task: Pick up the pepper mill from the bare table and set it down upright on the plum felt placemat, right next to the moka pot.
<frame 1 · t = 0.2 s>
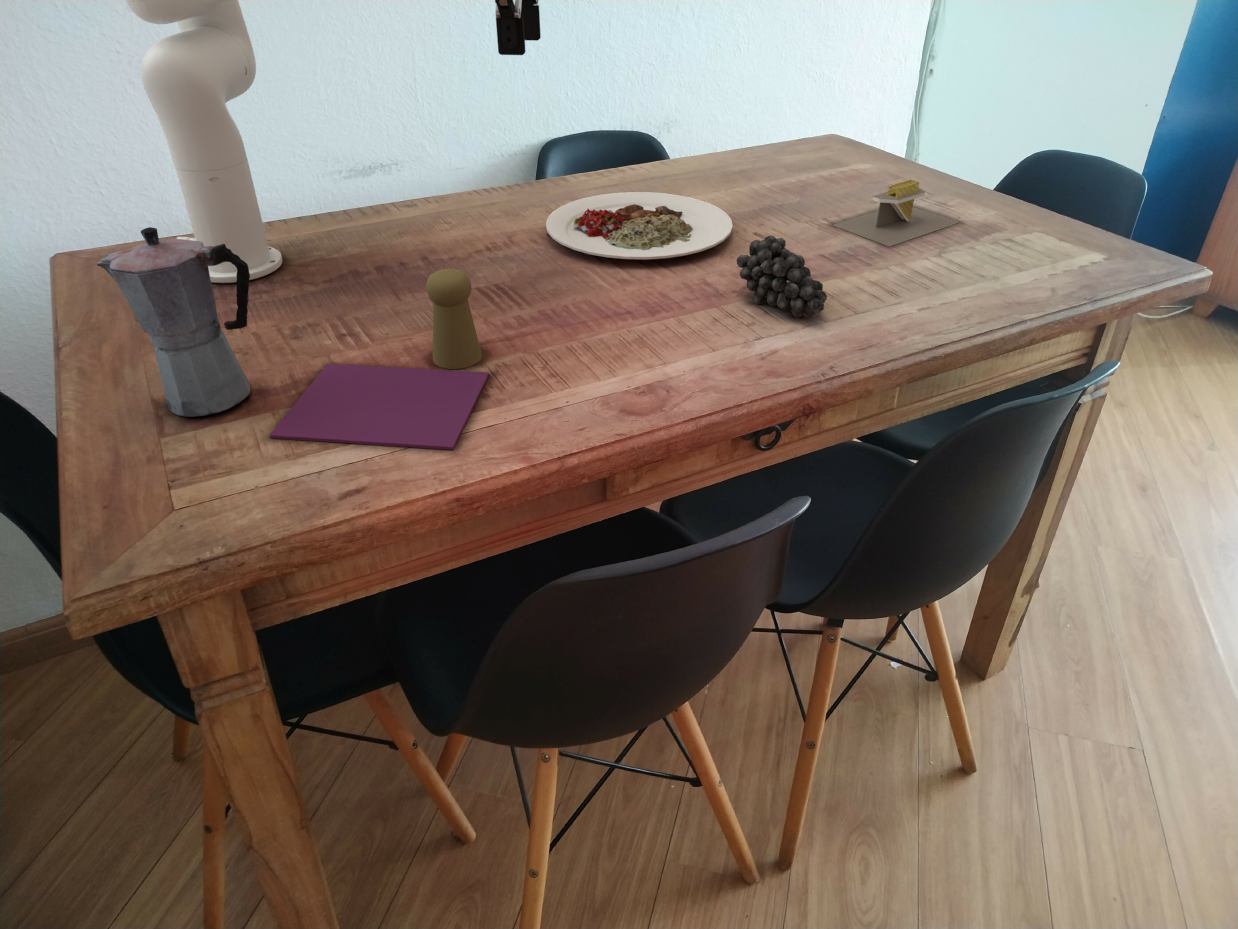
hand: (520, 46, 110), 31 cm above the table, tool pointing down, fingers open, 9 cm apart
pepper mill: (457, 358, 109), on the table
plated food: (638, 234, 144), on the table
platform: (895, 224, 148), on the table
fruit: (780, 308, 121), on the table
placemat: (385, 405, 100), on the table
moka pot: (214, 399, 101), on the table
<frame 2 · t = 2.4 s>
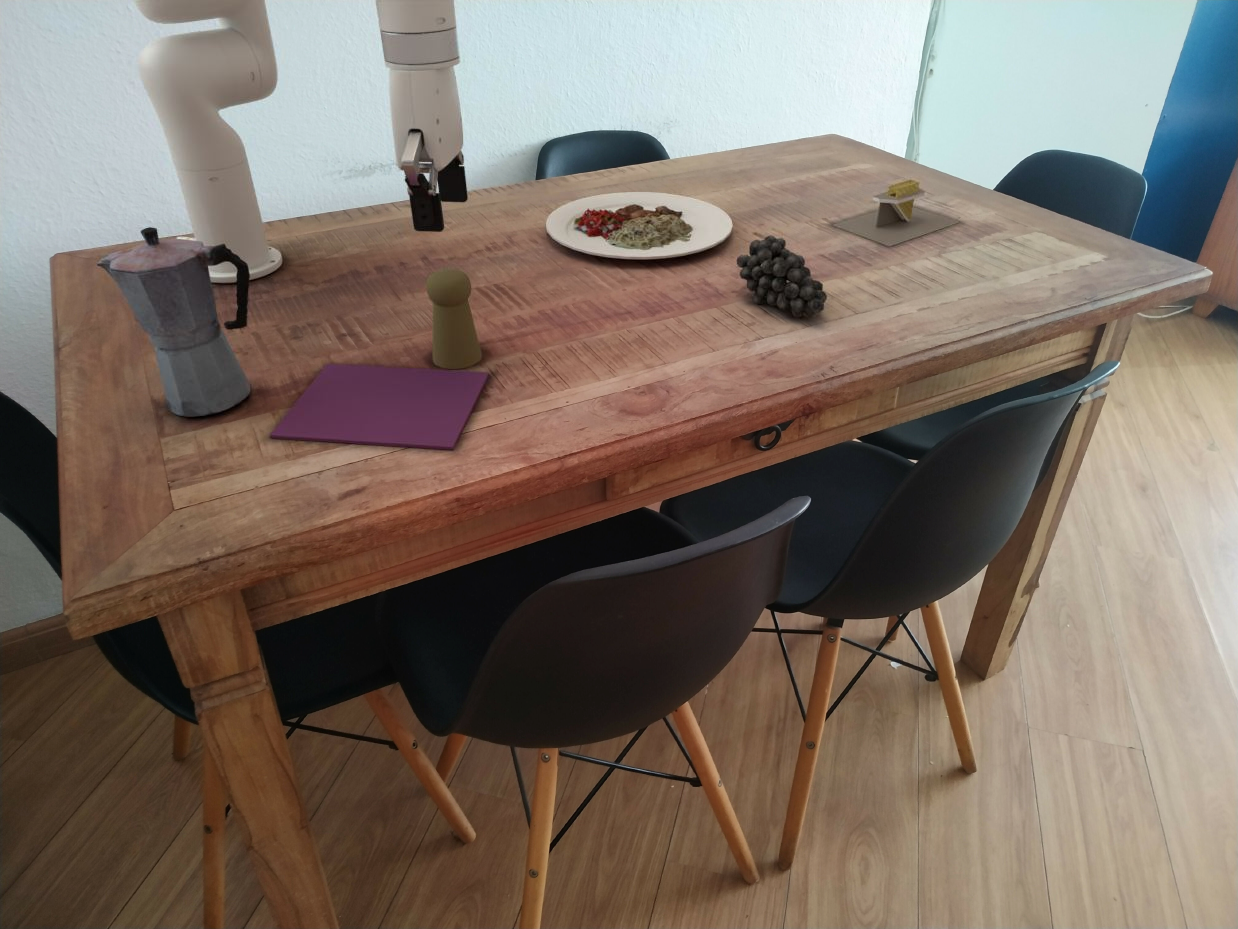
hand: (442, 215, 99), 18 cm above the table, tool pointing down, fingers open, 9 cm apart
nothing on the table moved.
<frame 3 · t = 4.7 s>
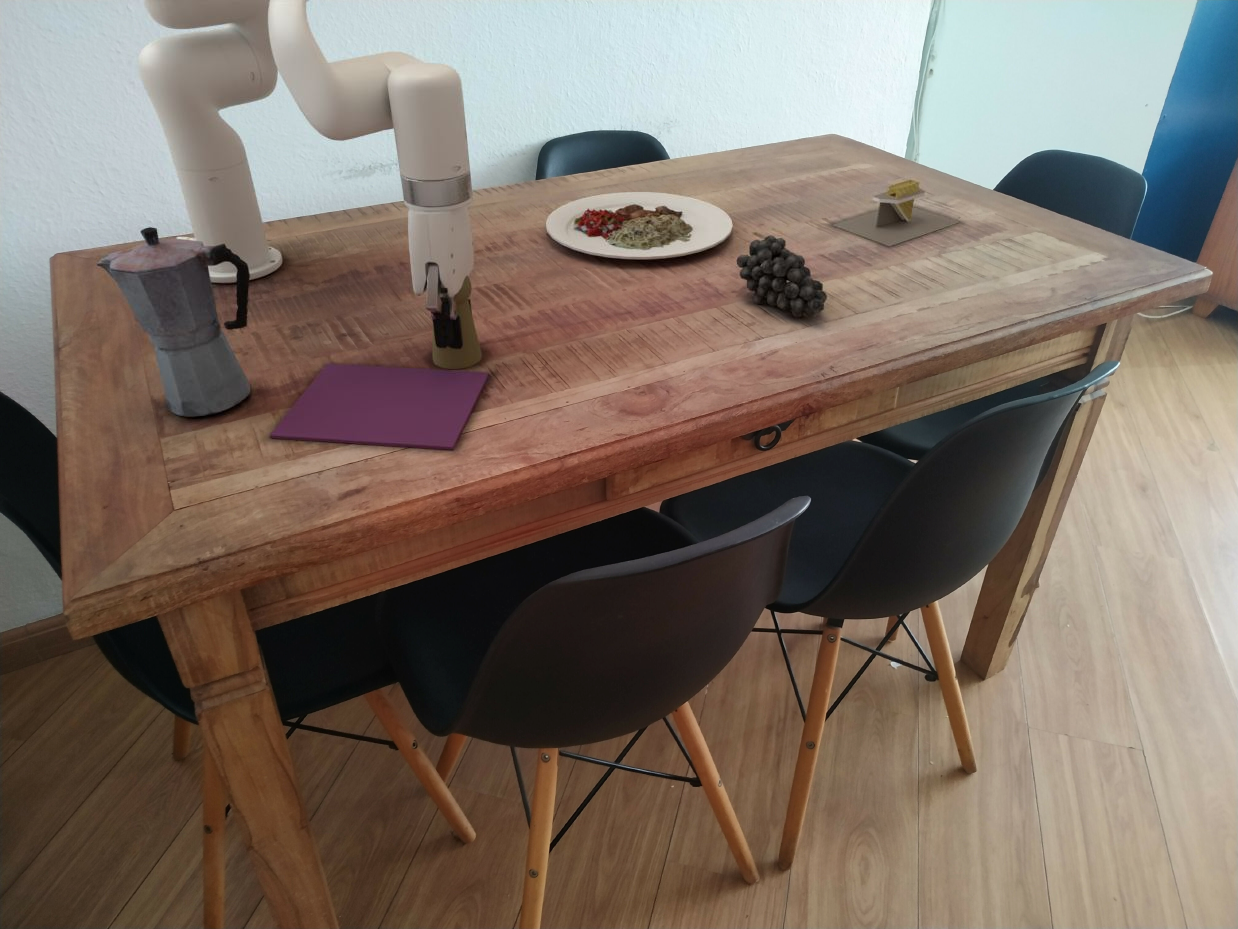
hand: (454, 336, 108), 3 cm above the table, tool pointing down, fingers closed on pepper mill, 4 cm apart
pepper mill: (457, 358, 109), on the table, touching gripper
everything else where it was.
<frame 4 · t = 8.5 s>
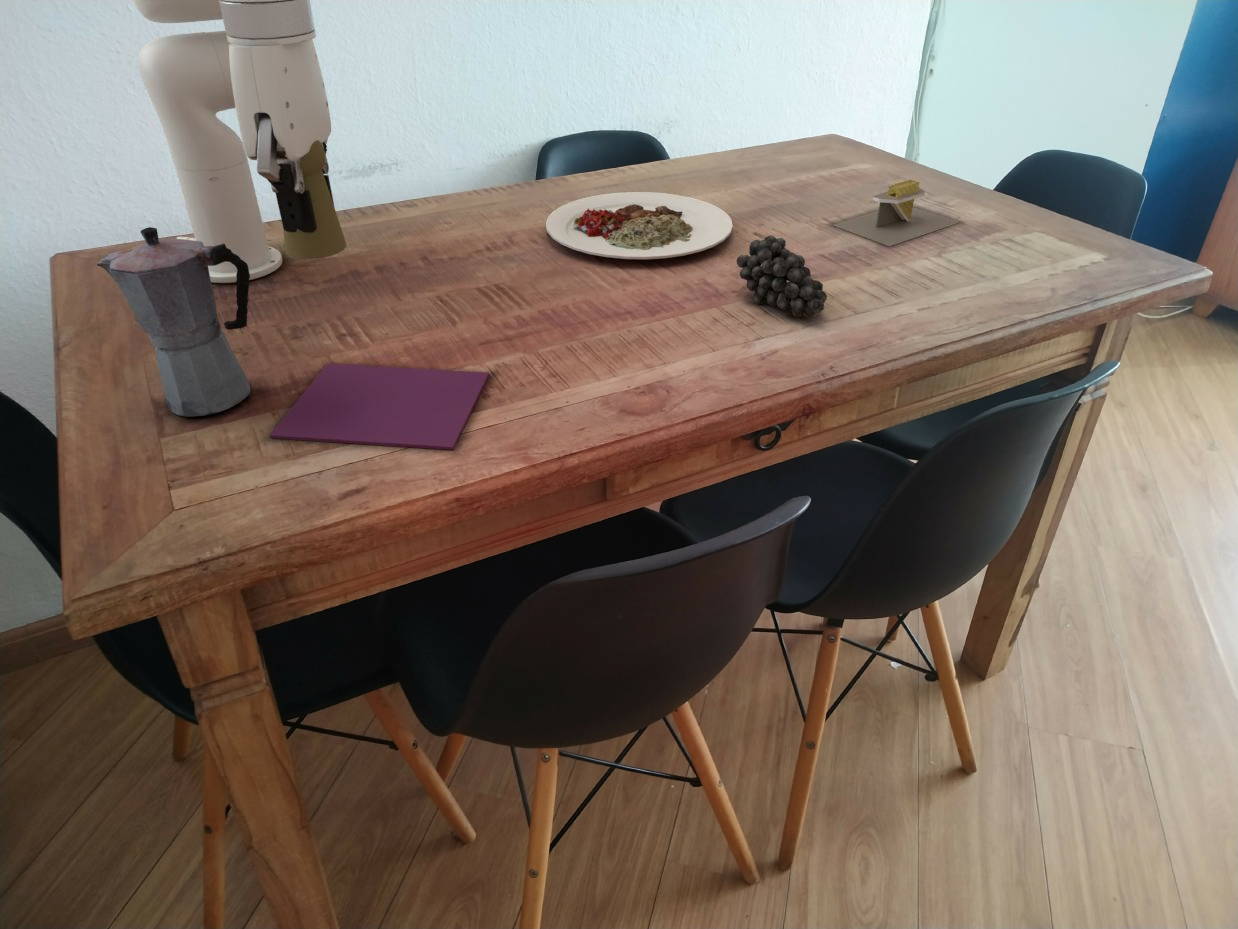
hand: (310, 220, 89), 21 cm above the table, tool pointing down, fingers closed on pepper mill, 4 cm apart
pepper mill: (316, 249, 91), point 18 cm above the table, touching gripper
everything else where it was.
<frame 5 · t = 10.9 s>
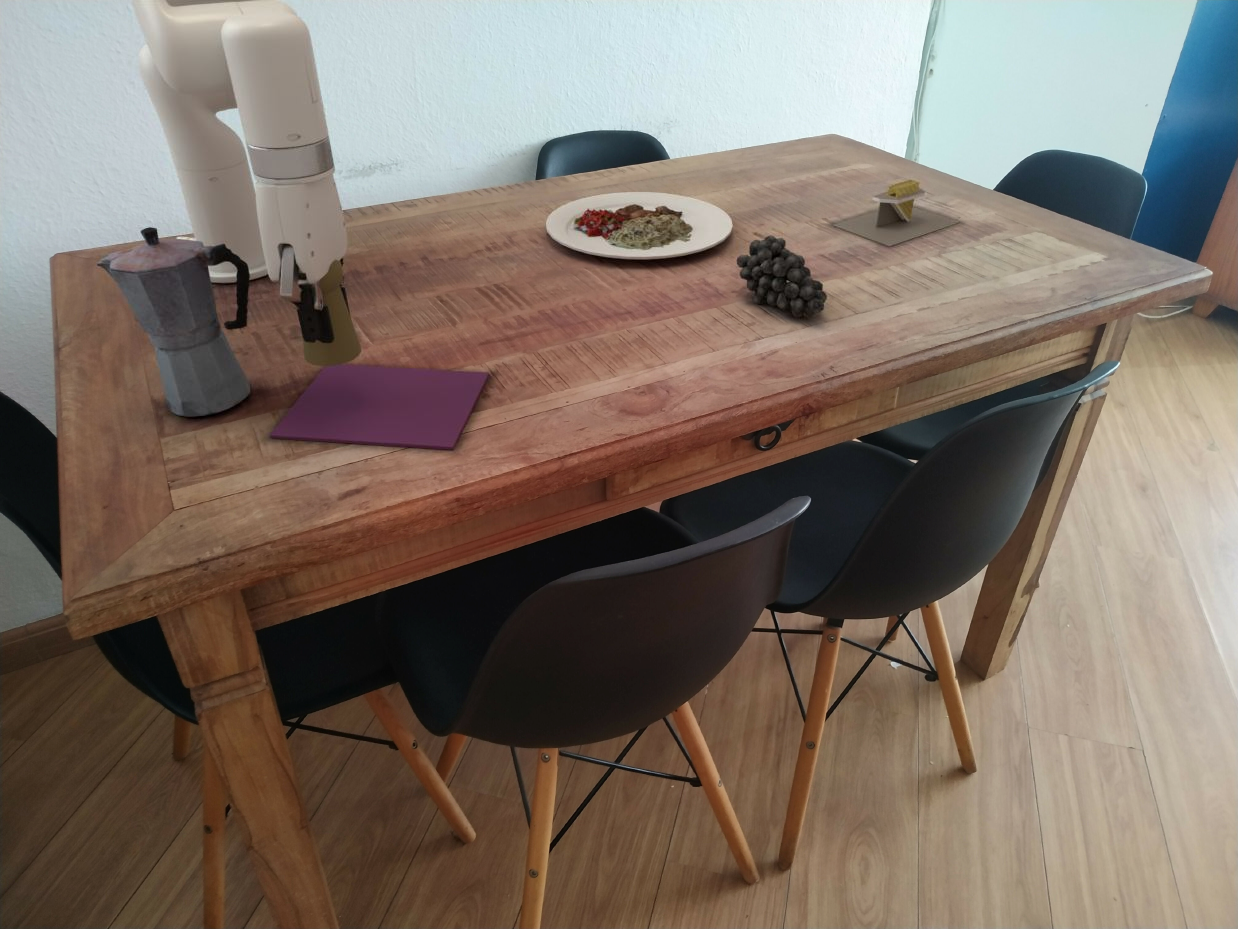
hand: (327, 329, 95), 9 cm above the table, tool pointing down, fingers closed on pepper mill, 4 cm apart
pepper mill: (333, 354, 97), point 6 cm above the table, touching gripper
everything else where it was.
when the fingers open (3 cm above the table, at t = 12.6 s): pepper mill stays where it is, resting on placemat.
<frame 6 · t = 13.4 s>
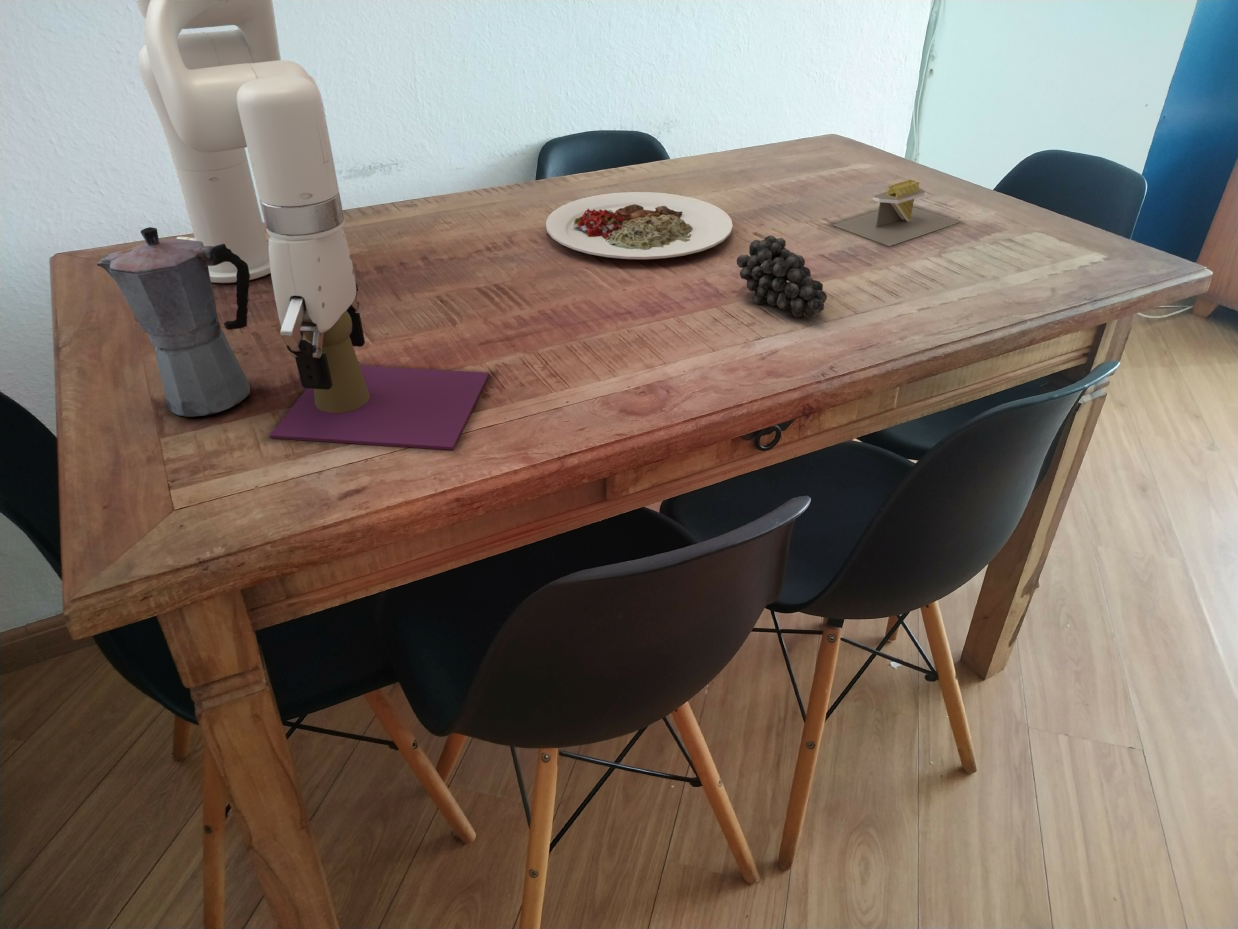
hand: (335, 365, 98), 5 cm above the table, tool pointing down, fingers open, 9 cm apart
pepper mill: (342, 400, 100), resting on placemat
everything else where it was.
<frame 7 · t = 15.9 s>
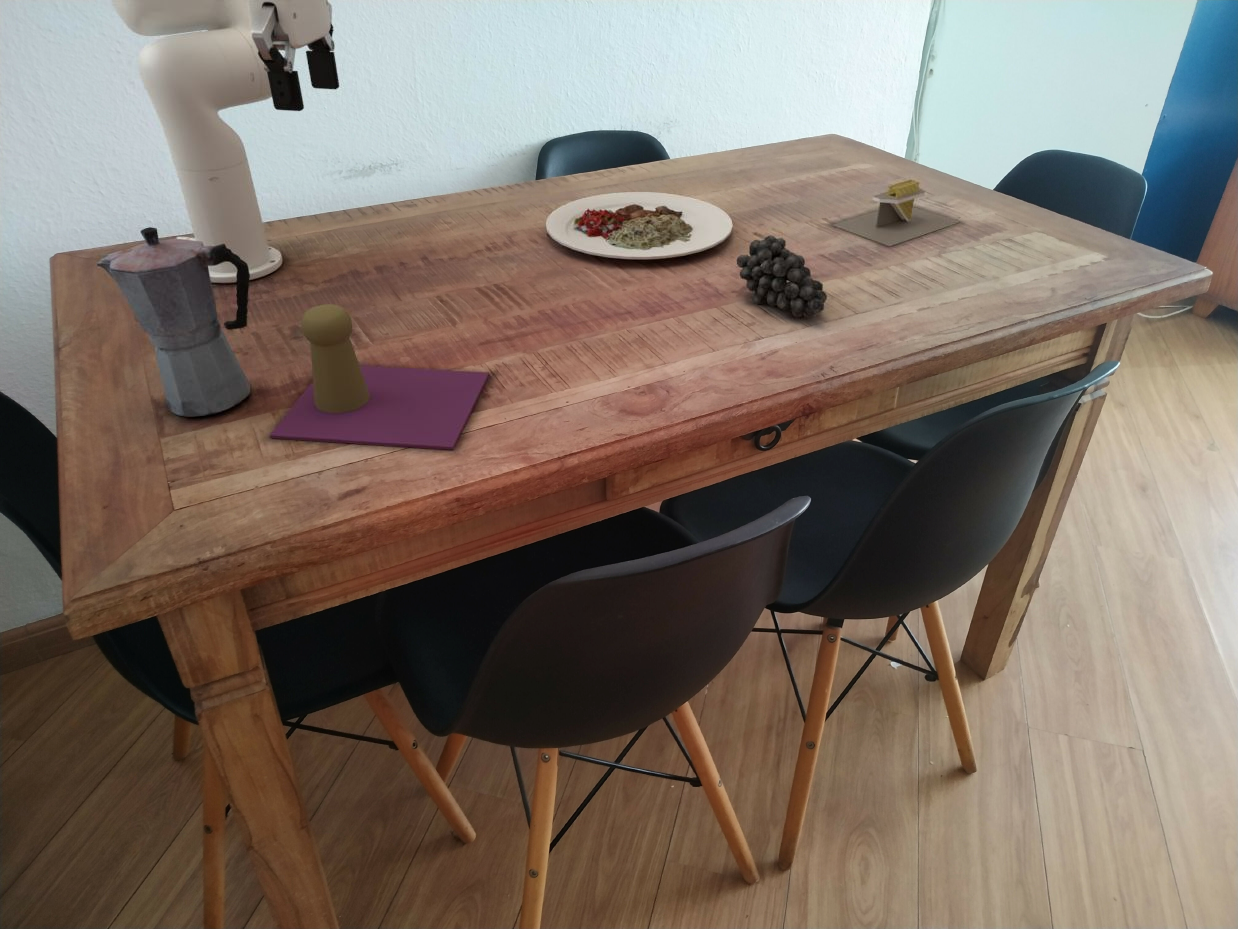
hand: (308, 98, 101), 28 cm above the table, tool pointing down, fingers open, 9 cm apart
nothing on the table moved.
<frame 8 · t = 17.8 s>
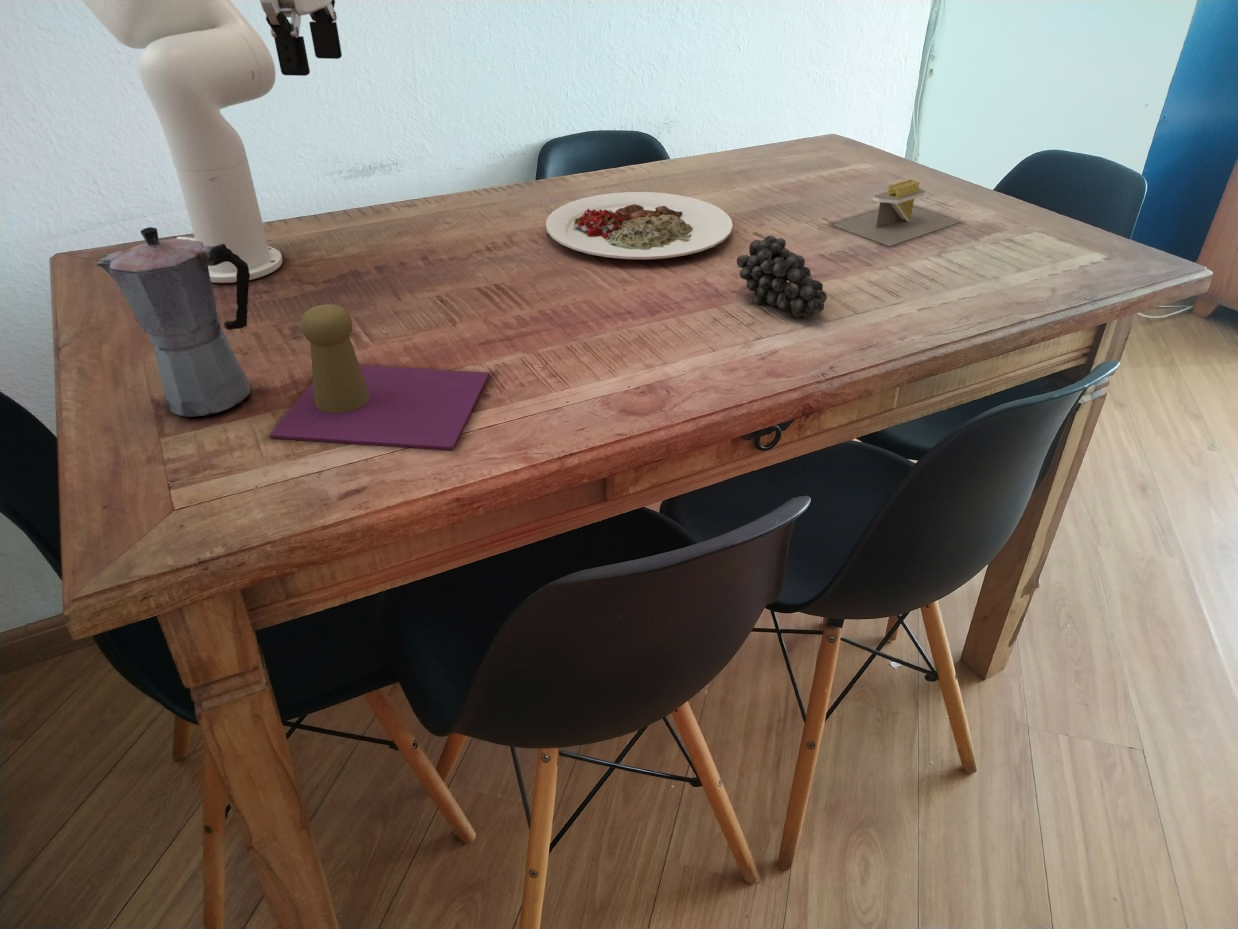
hand: (313, 66, 105), 30 cm above the table, tool pointing down, fingers open, 9 cm apart
nothing on the table moved.
at the end: pepper mill 15.0 cm from the moka pot (horizontally); pepper mill inside the target area on the placemat (0.0 cm from its centre), point 0.2 cm above the placemat's base; pepper mill tilted 0° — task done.
